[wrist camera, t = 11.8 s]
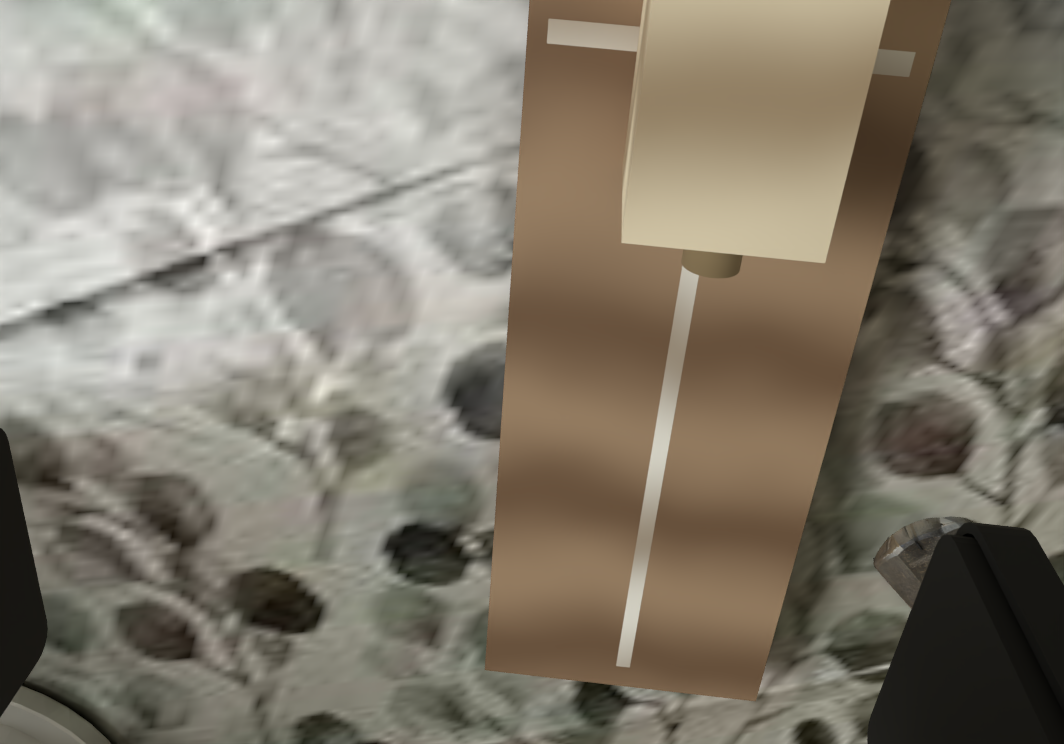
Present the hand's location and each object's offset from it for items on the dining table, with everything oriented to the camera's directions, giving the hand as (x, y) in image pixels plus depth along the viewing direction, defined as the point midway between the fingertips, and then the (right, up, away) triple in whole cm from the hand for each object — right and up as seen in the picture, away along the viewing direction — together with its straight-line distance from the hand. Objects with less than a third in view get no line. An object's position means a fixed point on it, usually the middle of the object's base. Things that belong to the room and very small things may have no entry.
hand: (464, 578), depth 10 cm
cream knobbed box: (+6, +10, +14) cm, 18 cm away
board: (+5, +3, +21) cm, 22 cm away
